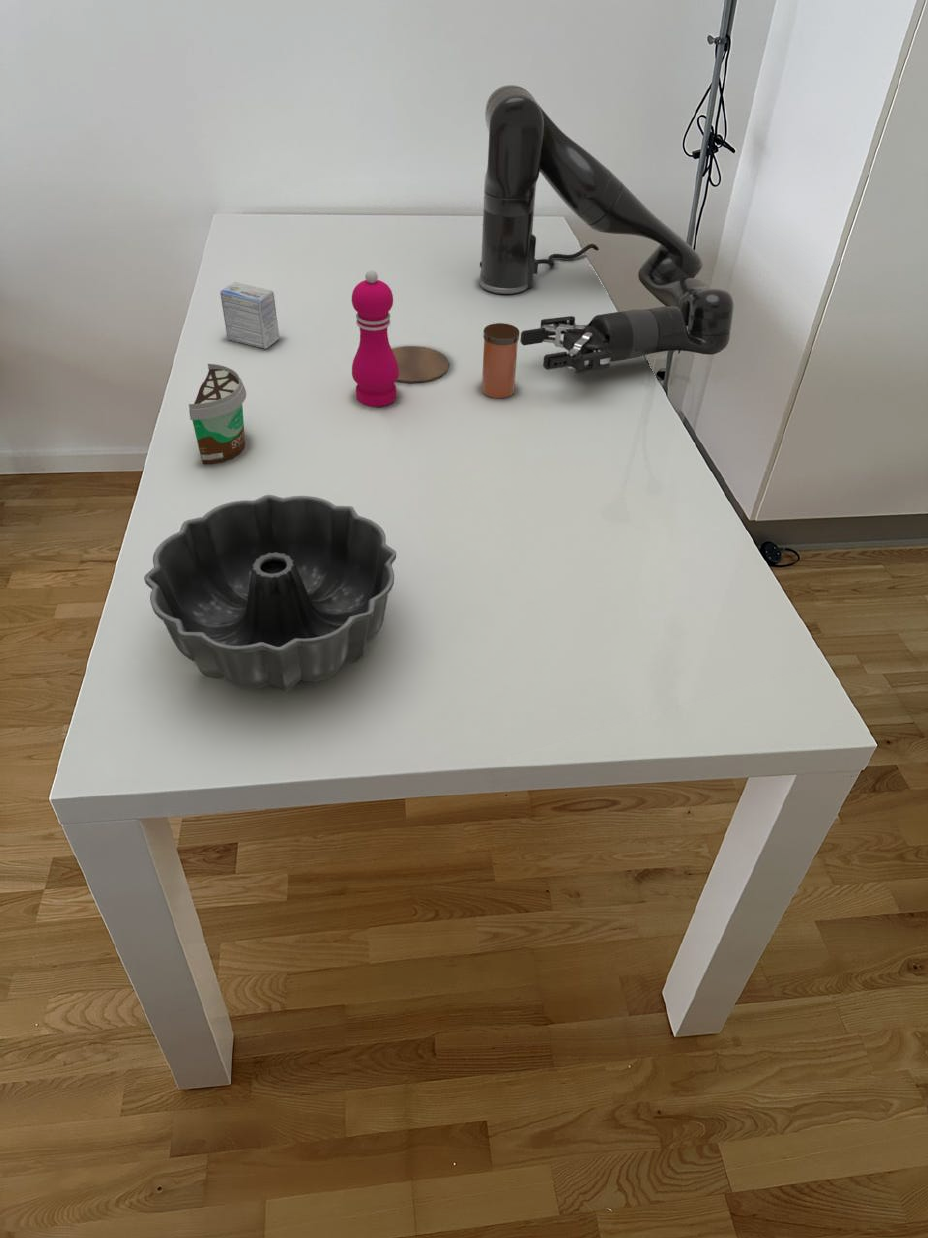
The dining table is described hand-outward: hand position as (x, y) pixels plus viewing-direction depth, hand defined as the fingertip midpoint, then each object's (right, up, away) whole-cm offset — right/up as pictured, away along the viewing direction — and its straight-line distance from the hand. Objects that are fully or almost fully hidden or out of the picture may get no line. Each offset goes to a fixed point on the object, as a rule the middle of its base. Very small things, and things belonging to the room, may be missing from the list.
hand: (532, 350), depth 145 cm
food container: (-44, -18, -12) cm, 49 cm away
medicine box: (-47, +5, +13) cm, 49 cm away
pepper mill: (-25, -8, 0) cm, 26 cm away
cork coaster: (-19, 0, +8) cm, 21 cm away
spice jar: (-5, -6, +2) cm, 8 cm away
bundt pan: (-32, -44, -39) cm, 67 cm away
